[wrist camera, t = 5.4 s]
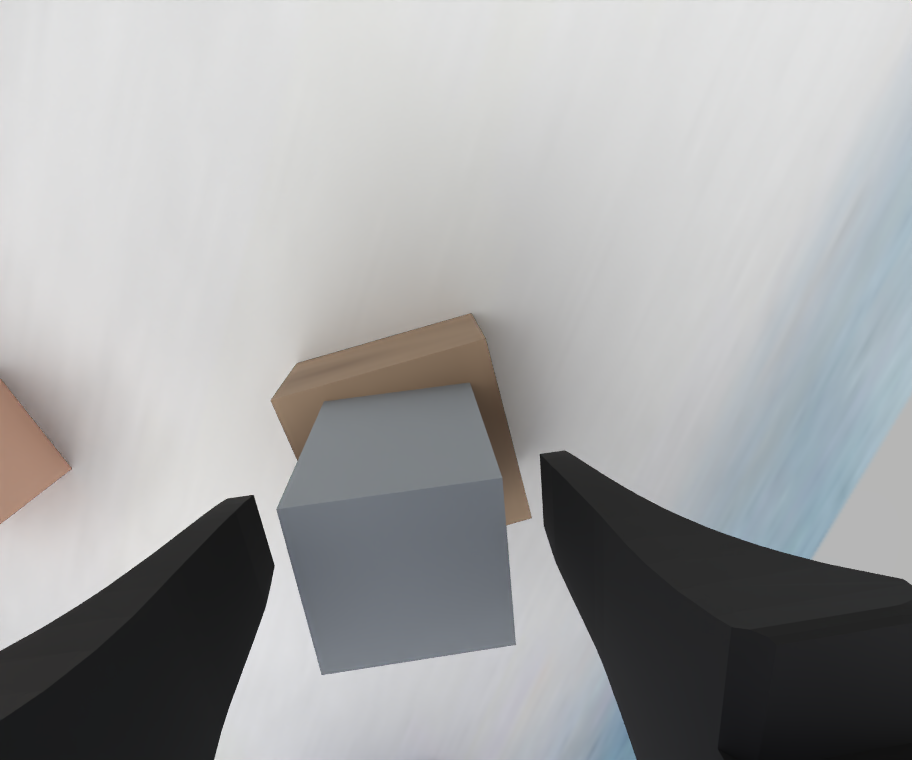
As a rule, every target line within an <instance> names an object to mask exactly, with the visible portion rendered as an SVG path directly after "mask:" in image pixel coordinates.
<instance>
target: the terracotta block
mask: <svg viewBox="0 0 912 760" xmlns="http://www.w3.org/2000/svg"><path fill="white" fill-rule="evenodd" d="M71 469H72V468H71V467H70V466H69V465H68V463H67V462H66V461H65V460H64V458H63V457H62V456H61V454H60V453H59V452H58V451H57V449H56V448H55V447H54V446H53V444H52V443H51V442H50V441H49V439H48V438H47V437H46V436H45V434H44V433H43V432H42V431H41V429H40V428H39V427H38V426H37V424H36V423H35V422H34V420H33V419H32V418H31V417H30V415H29V414H28V413H27V412H26V410H25V409H24V408H23V407H22V405H21V404H20V403H19V402H18V400H17V399H16V398H15V397H14V395H13V394H12V393H11V391H10V390H9V389H8V388H7V386H6V385H5V384H4V383H3V381H2V380H1V379H0V524H1V523H2V522H4V521H5V520H6V519H8V518H9V517H10V516H11V515H13V514H14V513H15V512H17V511H18V510H19V509H21V508H22V507H23V506H24V505H26V504H27V503H28V502H30V501H31V500H32V499H33V498H35V497H36V496H37V495H39V494H40V493H41V492H43V491H44V490H45V489H46V488H48V487H49V486H50V485H52V484H53V483H54V482H55V481H57V480H58V479H59V478H61V477H62V476H63V475H65V474H66V473H67V472H68V471H70V470H71Z"/></svg>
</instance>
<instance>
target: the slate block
mask: <svg viewBox="0 0 912 760" xmlns="http://www.w3.org/2000/svg"><path fill="white" fill-rule="evenodd" d="M277 513H278V517H279V520H280V524H281V528H282V531H283V535H284V538H285V542H286V546H287V549H288V553H289V557H290V560H291V564H292V568H293V571H294V575H295V579H296V582H297V586H298V590H299V593H300V597H301V601H302V604H303V608H304V612H305V615H306V619H307V623H308V626H309V630H310V634H311V637H312V641H313V645H314V648H315V652H316V656H317V659H318V663H319V667H320V670H321V674H322V675H325V674H332V673H338V672H344V671H351V670H357V669H364V668H370V667H376V666H383V665H389V664H396V663H402V662H409V661H415V660H421V659H428V658H434V657H441V656H447V655H453V654H460V653H466V652H473V651H479V650H485V649H492V648H498V647H505V646H511V645H516V641H515V629H514V616H513V604H512V591H511V579H510V566H509V554H508V542H507V529H506V517H505V504H504V492H503V479H502V475H501V472H500V469H499V467H498V464H497V461H496V458H495V455H494V452H493V449H492V446H491V443H490V440H489V437H488V434H487V431H486V428H485V425H484V423H483V420H482V417H481V414H480V411H479V408H478V405H477V402H476V399H475V396H474V393H473V390H472V387H471V384H470V383H463V384H455V385H447V386H439V387H432V388H424V389H416V390H408V391H400V392H393V393H385V394H377V395H369V396H362V397H354V398H346V399H338V400H331V401H324V402H323V405H322V407H321V409H320V411H319V414H318V416H317V418H316V421H315V423H314V425H313V427H312V430H311V432H310V434H309V436H308V439H307V441H306V443H305V446H304V448H303V450H302V452H301V455H300V457H299V459H298V461H297V464H296V466H295V468H294V471H293V473H292V475H291V477H290V480H289V482H288V484H287V486H286V489H285V491H284V493H283V496H282V498H281V500H280V502H279V505H278V507H277Z"/></svg>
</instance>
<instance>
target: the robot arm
mask: <svg viewBox="0 0 912 760" xmlns="http://www.w3.org/2000/svg"><path fill="white" fill-rule="evenodd" d="M540 465H541V483H542V501H543V519H544V527H545V531H546V534H547V537H548V540H549V543H550V547H551V550H552V553H553V555H554V558H555V561H556V564H557V566H558V568H559V570H560V573H561V575H562V577H563V579H564V581H565V583H566V585H567V588H568V590H569V592H570V594H571V596H572V598H573V600H574V602H575V605H576V607H577V609H578V611H579V613H580V615H581V617H582V619H583V621H584V623H585V626H586V628H587V630H588V632H589V634H590V636H591V638H592V640H593V642H594V645H595V647H596V649H597V651H598V654H599V656H600V658H601V661H602V663H603V666H604V668H605V671H606V674H607V676H608V679H609V682H610V685H611V687H612V690H613V693H614V696H615V699H616V701H617V704H618V707H619V710H620V712H621V715H622V718H623V721H624V724H625V727H626V730H627V733H628V735H629V738H630V741H631V744H632V747H633V750H634V753H635V756H636V759H637V760H912V585H911V584H909V583H908V582H907V581H905V580H903V579H899V578H894V577H889V576H885V575H880V574H874V573H869V572H865V571H859V570H855V569H849V568H844V567H840V566H834V565H830V564H825V563H821V562H817V561H813V560H810V559H806V558H802V557H798V556H794V555H790V554H787V553H783V552H779V551H776V550H773V549H769V548H766V547H762V546H759V545H756V544H753V543H750V542H747V541H744V540H741V539H738V538H735V537H732V536H729V535H726V534H724V533H721V532H718V531H716V530H713V529H710V528H708V527H705V526H703V525H700V524H698V523H696V522H693V521H691V520H689V519H686V518H684V517H682V516H679V515H677V514H675V513H673V512H670V511H668V510H666V509H664V508H662V507H660V506H658V505H656V504H654V503H652V502H650V501H649V500H647V499H645V498H643V497H641V496H639V495H637V494H635V493H634V492H632V491H630V490H628V489H627V488H625V487H623V486H621V485H620V484H618V483H616V482H615V481H613V480H611V479H610V478H608V477H607V476H605V475H603V474H602V473H600V472H599V471H597V470H595V469H594V468H592V467H591V466H589V465H588V464H586V463H584V462H583V461H581V460H580V459H578V458H577V457H575V456H573V455H572V454H570V453H568V452H567V451H558V452H551V453H544V454H540ZM274 566H275V565H274V562H273V559H272V555H271V552H270V549H269V545H268V542H267V539H266V535H265V532H264V528H263V525H262V522H261V518H260V515H259V512H258V508H257V505H256V501H255V498H254V495H249V496H242V497H235V498H228V499H226V500H224V501H223V502H221V503H219V504H218V505H216V506H215V507H214V508H212V509H211V510H209V511H208V512H207V513H205V514H204V515H203V516H201V517H200V518H199V519H198V520H196V521H195V522H194V523H192V524H191V525H190V526H188V527H187V528H186V529H185V530H183V531H182V532H181V533H179V534H178V535H177V536H175V537H174V538H173V539H172V540H170V541H169V542H168V543H166V544H165V545H164V546H162V547H161V548H160V549H159V550H157V551H156V552H155V553H153V554H152V555H151V556H149V557H148V558H146V559H145V560H144V561H142V562H141V563H139V564H138V565H137V566H135V567H134V568H132V569H131V570H130V571H128V572H127V573H126V574H124V575H123V576H121V577H120V578H119V579H117V580H116V581H114V582H113V583H112V584H110V585H109V586H107V587H106V588H104V589H103V590H101V591H100V592H98V593H97V594H95V595H94V596H92V597H91V598H89V599H88V600H86V601H85V602H83V603H82V604H80V605H78V606H77V607H75V608H74V609H72V610H70V611H69V612H67V613H66V614H64V615H62V616H61V617H59V618H58V619H56V620H54V621H53V622H51V623H49V624H48V625H46V626H44V627H43V628H41V629H39V630H37V631H36V632H34V633H32V634H30V635H28V636H27V637H25V638H23V639H21V640H19V641H18V642H16V643H14V644H12V645H10V646H8V647H7V648H5V649H3V650H1V651H0V760H214V757H215V754H216V750H217V746H218V742H219V738H220V735H221V731H222V728H223V725H224V722H225V719H226V715H227V712H228V709H229V706H230V703H231V701H232V698H233V695H234V693H235V690H236V687H237V685H238V682H239V679H240V676H241V674H242V671H243V668H244V666H245V663H246V660H247V657H248V655H249V652H250V649H251V647H252V644H253V641H254V638H255V636H256V633H257V630H258V627H259V625H260V622H261V619H262V616H263V613H264V610H265V607H266V603H267V599H268V595H269V591H270V586H271V581H272V576H273V571H274Z"/></svg>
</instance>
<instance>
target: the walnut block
mask: <svg viewBox="0 0 912 760" xmlns="http://www.w3.org/2000/svg"><path fill="white" fill-rule="evenodd" d="M463 383H470V384H471V387H472V390H473V393H474V396H475V399H476V402H477V405H478V408H479V411H480V414H481V417H482V420H483V423H484V425H485V428H486V431H487V434H488V437H489V440H490V443H491V446H492V449H493V452H494V455H495V458H496V461H497V464H498V467H499V469H500V472H501V475H502V479H503V492H504V504H505V517H506V525H509V524H513V523H516V522H520V521H523V520H527V519H530V518H532V517H531V513H530V509H529V505H528V501H527V497H526V493H525V490H524V486H523V482H522V478H521V474H520V470H519V466H518V462H517V458H516V455H515V451H514V447H513V443H512V439H511V435H510V431H509V427H508V423H507V420H506V416H505V412H504V408H503V404H502V400H501V396H500V392H499V388H498V384H497V381H496V377H495V373H494V369H493V365H492V361H491V357H490V353H489V349H488V346H487V342H486V338H485V336H484V335H483V333H482V331H481V329H480V328H479V326H478V324H477V322H476V321H475V319H474V317H473V316H472V314H471V313H470V314H467V315H463V316H460V317H456V318H453V319H449V320H446V321H442V322H439V323H435V324H432V325H428V326H425V327H422V328H418V329H415V330H411V331H408V332H404V333H401V334H397V335H394V336H390V337H387V338H383V339H380V340H376V341H373V342H369V343H366V344H362V345H359V346H355V347H352V348H349V349H345V350H342V351H338V352H335V353H331V354H328V355H324V356H321V357H317V358H314V359H310V360H307V361H303V362H300V363H297V364H296V365H295V366H294V368H293V369H292V371H291V372H290V374H289V375H288V376H287V378H286V379H285V381H284V382H283V383H282V385H281V386H280V388H279V389H278V390H277V392H276V393H275V395H274V396H273V398H272V399H271V403H272V405H273V407H274V409H275V411H276V414H277V416H278V418H279V420H280V423H281V425H282V427H283V429H284V432H285V434H286V436H287V438H288V441H289V443H290V445H291V447H292V450H293V452H294V454H295V456H296V459H297V461H298V459H299V457H300V455H301V452H302V450H303V448H304V446H305V443H306V441H307V439H308V436H309V434H310V432H311V430H312V427H313V425H314V423H315V421H316V418H317V416H318V414H319V411H320V409H321V407H322V405H323V402H324V401H331V400H338V399H346V398H354V397H362V396H369V395H377V394H385V393H393V392H400V391H408V390H416V389H424V388H432V387H439V386H447V385H455V384H463Z"/></svg>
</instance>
